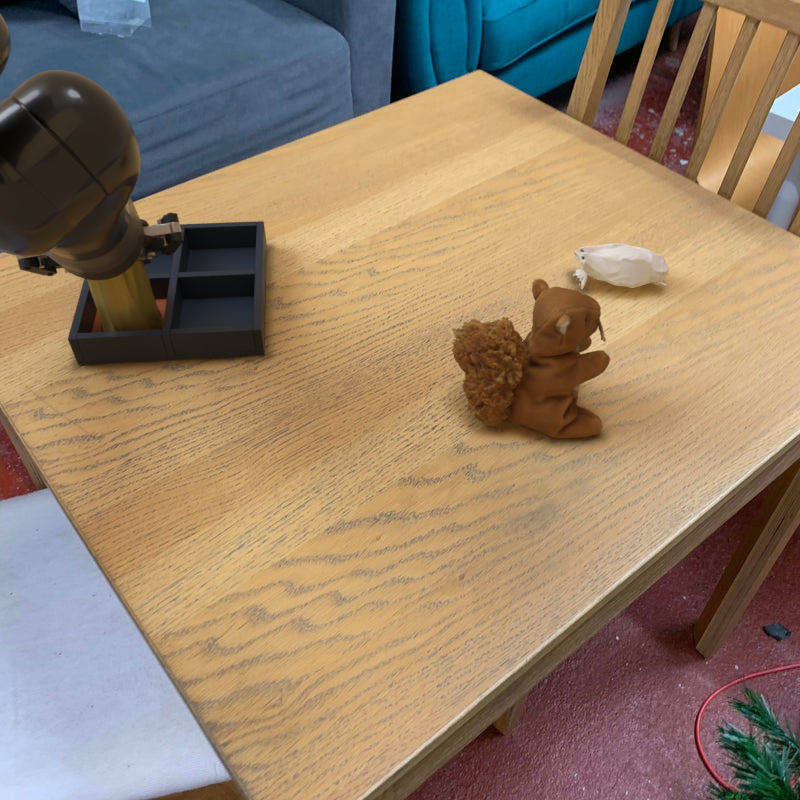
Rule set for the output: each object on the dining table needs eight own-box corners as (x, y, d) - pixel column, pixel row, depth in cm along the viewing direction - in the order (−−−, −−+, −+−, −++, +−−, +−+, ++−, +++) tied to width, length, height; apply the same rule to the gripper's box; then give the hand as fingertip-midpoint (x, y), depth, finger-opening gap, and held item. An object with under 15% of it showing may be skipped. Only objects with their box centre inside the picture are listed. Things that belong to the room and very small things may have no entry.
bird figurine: (589, 313, 85) (675, 286, 85) (583, 260, 81) (673, 232, 81) (574, 291, 89) (656, 266, 89) (567, 240, 85) (654, 213, 85)
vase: (156, 300, 82) (124, 182, 71) (168, 336, 78) (136, 217, 67) (97, 314, 80) (55, 195, 69) (107, 352, 76) (64, 232, 66)
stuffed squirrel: (608, 436, 72) (645, 333, 62) (461, 452, 70) (475, 348, 60) (576, 362, 78) (604, 257, 68) (440, 375, 76) (450, 269, 67)
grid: (78, 365, 76) (67, 339, 73) (106, 253, 88) (98, 227, 86) (264, 355, 78) (260, 329, 75) (267, 246, 90) (263, 220, 87)
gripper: (171, 160, 60) (179, 208, 76) (-26, 190, 56) (26, 234, 73) (193, 255, 60) (196, 282, 77) (-1, 290, 57) (46, 311, 73)
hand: (113, 258), depth 75 cm, fingers closed on vase, 5 cm apart
